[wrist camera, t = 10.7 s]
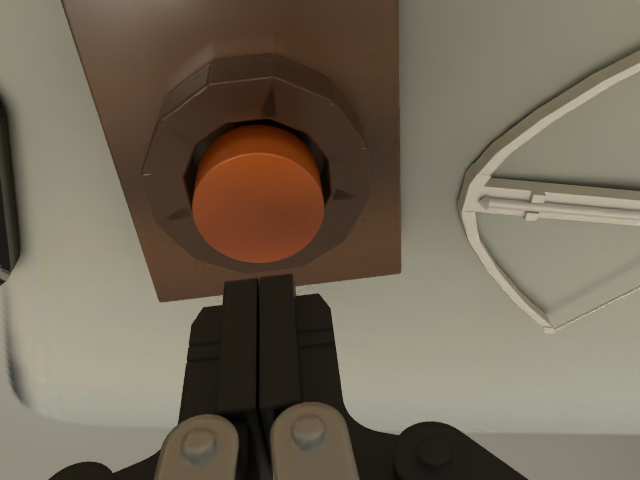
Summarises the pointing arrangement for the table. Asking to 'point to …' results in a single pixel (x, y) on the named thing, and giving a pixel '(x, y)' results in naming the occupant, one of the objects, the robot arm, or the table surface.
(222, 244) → the button
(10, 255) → the phone
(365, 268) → the button block
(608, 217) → the crossbow
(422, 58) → the table surface
